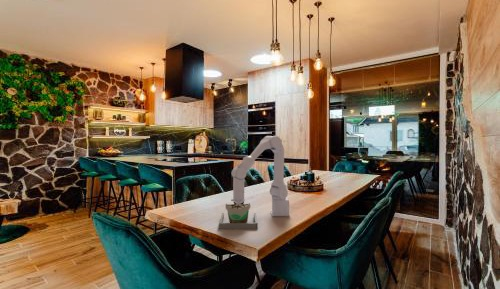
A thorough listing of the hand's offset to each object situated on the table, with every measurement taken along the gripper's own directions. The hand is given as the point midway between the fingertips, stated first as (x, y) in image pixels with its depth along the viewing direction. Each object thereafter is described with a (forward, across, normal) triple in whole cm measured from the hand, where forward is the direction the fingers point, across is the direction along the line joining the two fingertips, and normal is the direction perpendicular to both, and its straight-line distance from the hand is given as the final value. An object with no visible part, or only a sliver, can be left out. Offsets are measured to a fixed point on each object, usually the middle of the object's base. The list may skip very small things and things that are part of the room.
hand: (238, 216), depth 132 cm
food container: (+2, +6, 0) cm, 6 cm away
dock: (+2, +3, 0) cm, 4 cm away
